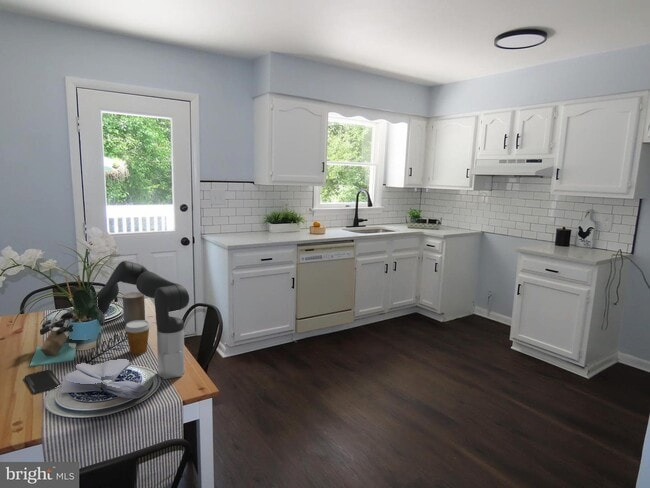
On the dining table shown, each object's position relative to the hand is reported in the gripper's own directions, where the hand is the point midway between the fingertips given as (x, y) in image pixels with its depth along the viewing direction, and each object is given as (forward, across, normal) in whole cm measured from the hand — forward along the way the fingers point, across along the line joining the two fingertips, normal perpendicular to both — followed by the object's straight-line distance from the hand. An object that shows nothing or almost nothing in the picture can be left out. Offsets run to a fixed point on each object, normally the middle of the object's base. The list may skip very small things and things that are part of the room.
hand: (49, 332), depth 161 cm
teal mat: (-2, 0, +10) cm, 10 cm away
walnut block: (+1, 0, +8) cm, 8 cm away
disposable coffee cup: (-8, +31, +10) cm, 33 cm away
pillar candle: (-41, +14, +10) cm, 45 cm away
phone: (+19, +10, +11) cm, 24 cm away
